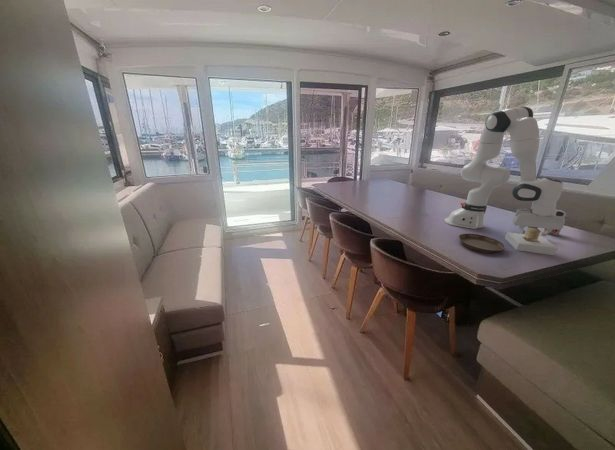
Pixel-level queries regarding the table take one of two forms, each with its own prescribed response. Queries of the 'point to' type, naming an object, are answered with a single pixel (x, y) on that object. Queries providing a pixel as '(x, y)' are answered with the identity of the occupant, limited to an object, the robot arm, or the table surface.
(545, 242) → the socket block
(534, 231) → the birch peg
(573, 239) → the table surface
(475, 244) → the plant saucer
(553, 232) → the soda can
